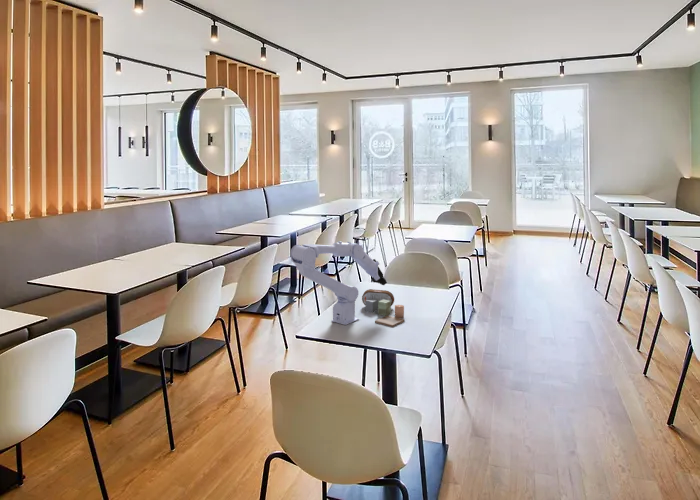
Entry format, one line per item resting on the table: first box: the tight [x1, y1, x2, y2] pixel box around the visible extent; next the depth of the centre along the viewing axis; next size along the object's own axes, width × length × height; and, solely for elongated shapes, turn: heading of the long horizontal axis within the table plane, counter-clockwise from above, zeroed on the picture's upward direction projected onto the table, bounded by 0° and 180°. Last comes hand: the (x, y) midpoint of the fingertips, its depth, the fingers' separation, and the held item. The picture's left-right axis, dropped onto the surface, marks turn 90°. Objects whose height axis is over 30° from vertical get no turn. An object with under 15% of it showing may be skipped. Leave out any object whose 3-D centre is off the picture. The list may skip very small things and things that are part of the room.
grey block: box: [365, 299, 378, 313], centre depth 218 cm, size 4×4×5 cm
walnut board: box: [374, 315, 406, 328], centre depth 203 cm, size 9×9×1 cm
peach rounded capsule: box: [394, 304, 405, 319], centre depth 209 cm, size 4×4×5 cm
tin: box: [361, 288, 395, 307], centre depth 222 cm, size 15×3×8 cm, turn 74°
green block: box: [377, 299, 392, 317], centre depth 213 cm, size 4×4×6 cm
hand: (382, 278), depth 215 cm, fingers open, 7 cm apart
